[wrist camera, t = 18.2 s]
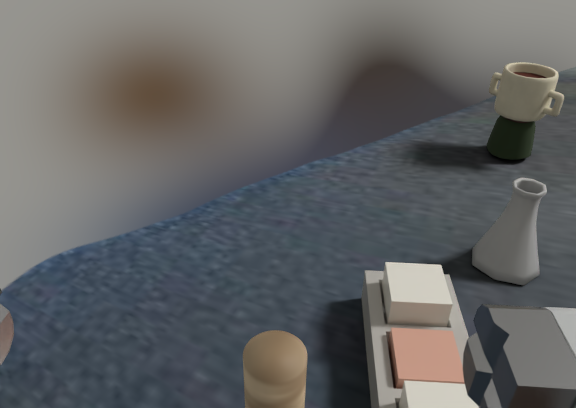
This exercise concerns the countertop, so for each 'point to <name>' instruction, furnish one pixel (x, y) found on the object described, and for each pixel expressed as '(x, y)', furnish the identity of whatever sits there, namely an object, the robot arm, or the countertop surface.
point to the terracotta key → (424, 356)
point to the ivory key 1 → (416, 295)
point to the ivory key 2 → (435, 395)
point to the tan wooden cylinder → (275, 371)
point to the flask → (513, 237)
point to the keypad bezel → (379, 332)
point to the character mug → (521, 107)
